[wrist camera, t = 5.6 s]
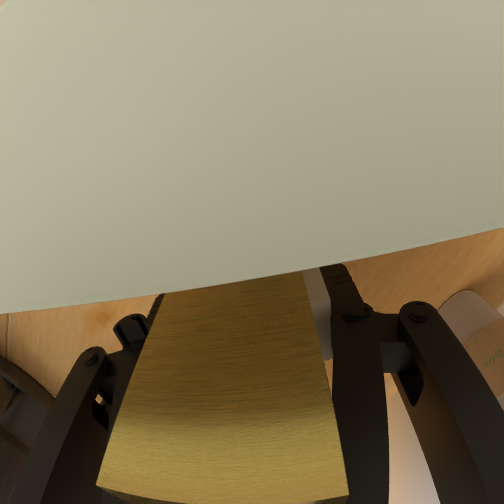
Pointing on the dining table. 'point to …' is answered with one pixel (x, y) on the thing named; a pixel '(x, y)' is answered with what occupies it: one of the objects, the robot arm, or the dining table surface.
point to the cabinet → (238, 139)
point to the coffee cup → (479, 335)
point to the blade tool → (229, 403)
